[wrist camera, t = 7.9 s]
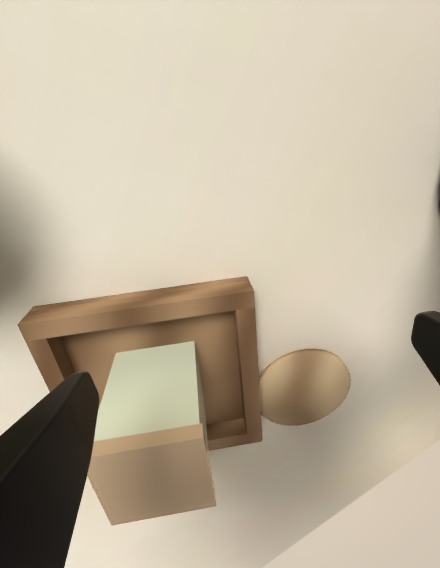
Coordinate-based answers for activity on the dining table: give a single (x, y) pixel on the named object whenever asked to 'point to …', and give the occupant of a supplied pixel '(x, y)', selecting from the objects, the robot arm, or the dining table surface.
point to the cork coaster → (303, 387)
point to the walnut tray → (159, 332)
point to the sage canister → (152, 436)
